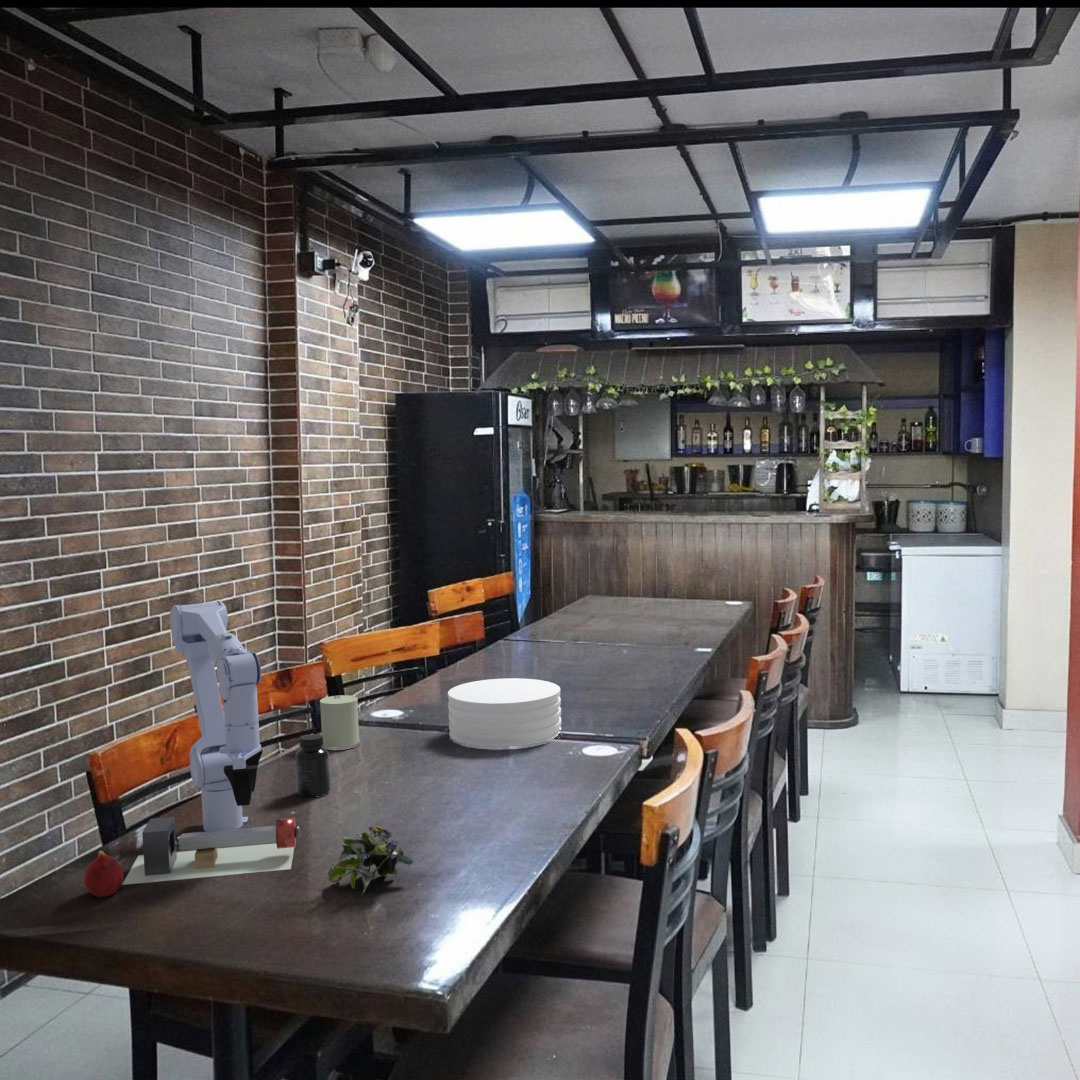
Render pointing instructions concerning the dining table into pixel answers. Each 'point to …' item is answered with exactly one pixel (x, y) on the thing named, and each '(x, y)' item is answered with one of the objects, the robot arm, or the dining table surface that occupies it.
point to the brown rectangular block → (205, 858)
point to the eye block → (159, 846)
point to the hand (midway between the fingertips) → (245, 798)
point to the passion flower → (368, 857)
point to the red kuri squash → (103, 876)
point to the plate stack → (504, 712)
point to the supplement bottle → (312, 767)
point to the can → (339, 720)
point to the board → (219, 864)
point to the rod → (242, 836)
